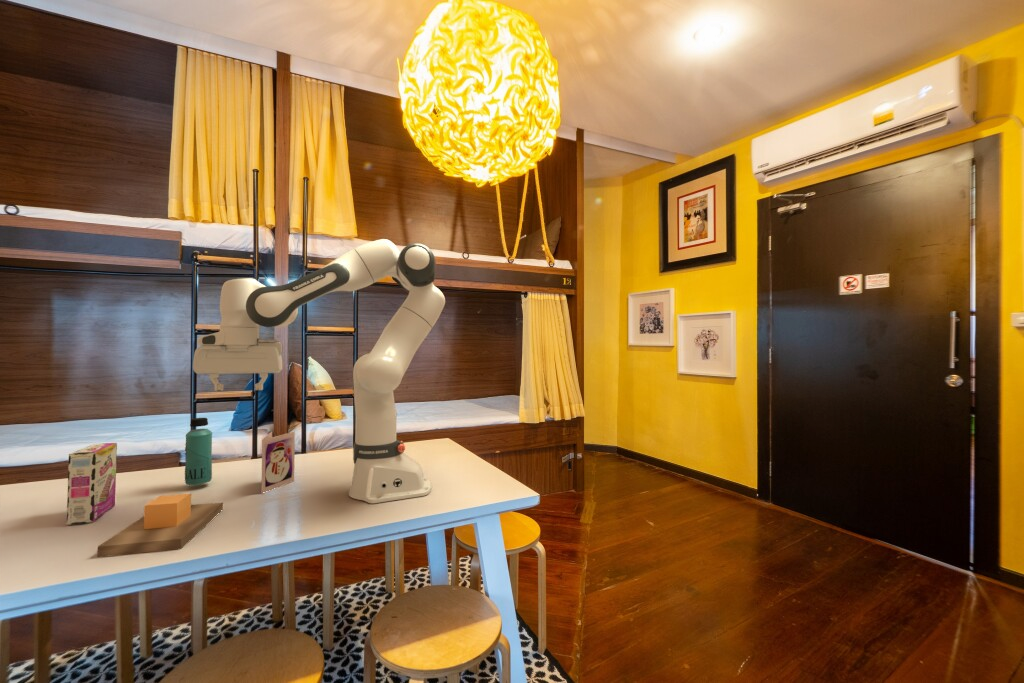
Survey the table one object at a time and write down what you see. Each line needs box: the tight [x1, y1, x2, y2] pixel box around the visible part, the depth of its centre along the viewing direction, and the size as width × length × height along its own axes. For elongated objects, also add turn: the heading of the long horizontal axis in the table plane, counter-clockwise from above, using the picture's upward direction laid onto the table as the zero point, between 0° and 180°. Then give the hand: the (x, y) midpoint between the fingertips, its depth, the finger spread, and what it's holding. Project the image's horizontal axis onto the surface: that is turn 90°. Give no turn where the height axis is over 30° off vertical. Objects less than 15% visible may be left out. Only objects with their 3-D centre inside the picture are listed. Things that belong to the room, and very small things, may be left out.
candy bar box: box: [66, 442, 118, 526], centre depth 101 cm, size 11×5×16 cm, turn 23°
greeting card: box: [261, 431, 296, 494], centre depth 122 cm, size 11×7×15 cm, turn 163°
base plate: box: [96, 502, 224, 558], centre depth 93 cm, size 14×20×2 cm
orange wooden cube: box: [143, 493, 192, 529], centre depth 93 cm, size 6×6×5 cm
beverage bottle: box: [184, 417, 213, 486], centre depth 121 cm, size 6×7×20 cm
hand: (239, 390), depth 111 cm, fingers open, 8 cm apart
